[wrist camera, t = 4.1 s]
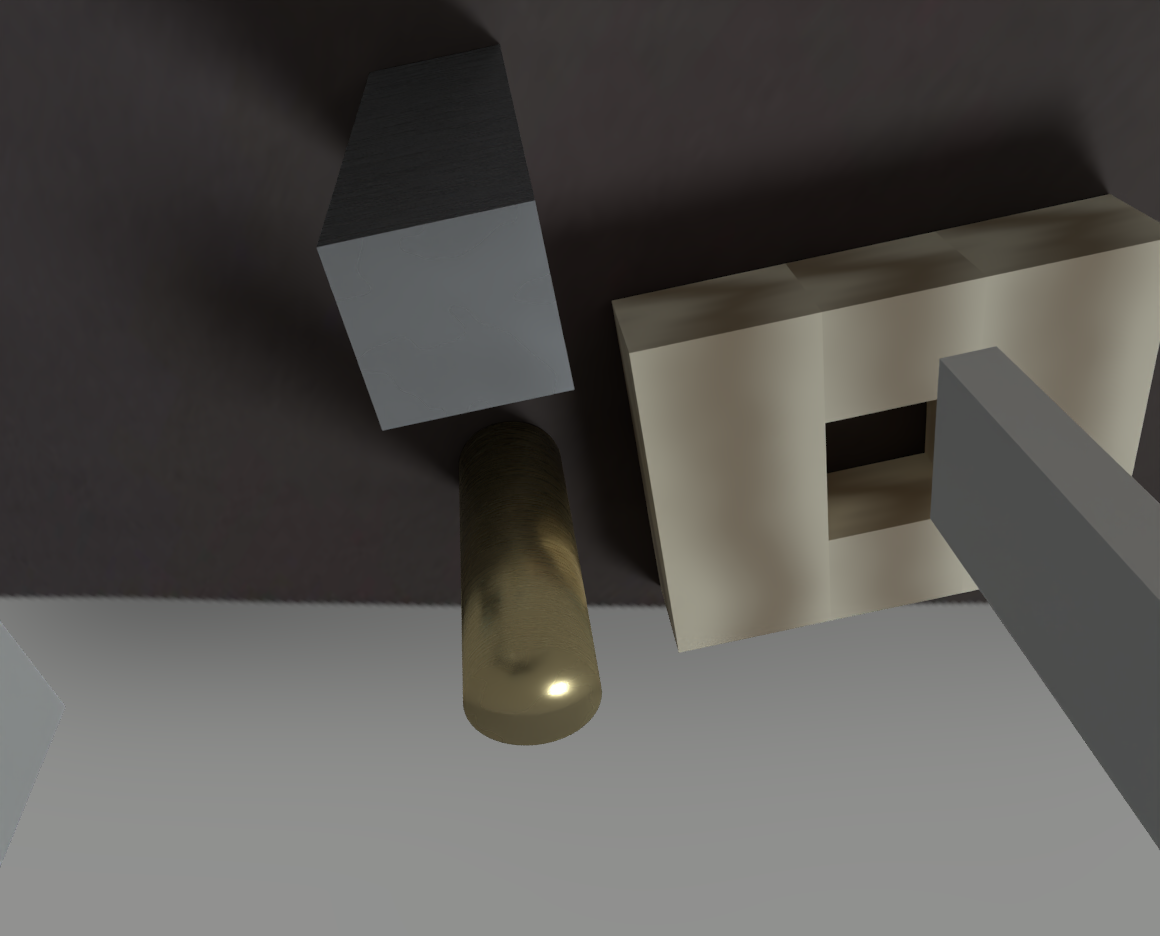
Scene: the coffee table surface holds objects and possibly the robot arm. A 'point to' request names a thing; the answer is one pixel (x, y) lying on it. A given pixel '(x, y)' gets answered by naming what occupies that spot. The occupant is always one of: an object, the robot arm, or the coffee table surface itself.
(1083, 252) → the socket block
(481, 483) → the round bit
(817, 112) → the coffee table surface
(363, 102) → the square bit
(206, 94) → the coffee table surface
